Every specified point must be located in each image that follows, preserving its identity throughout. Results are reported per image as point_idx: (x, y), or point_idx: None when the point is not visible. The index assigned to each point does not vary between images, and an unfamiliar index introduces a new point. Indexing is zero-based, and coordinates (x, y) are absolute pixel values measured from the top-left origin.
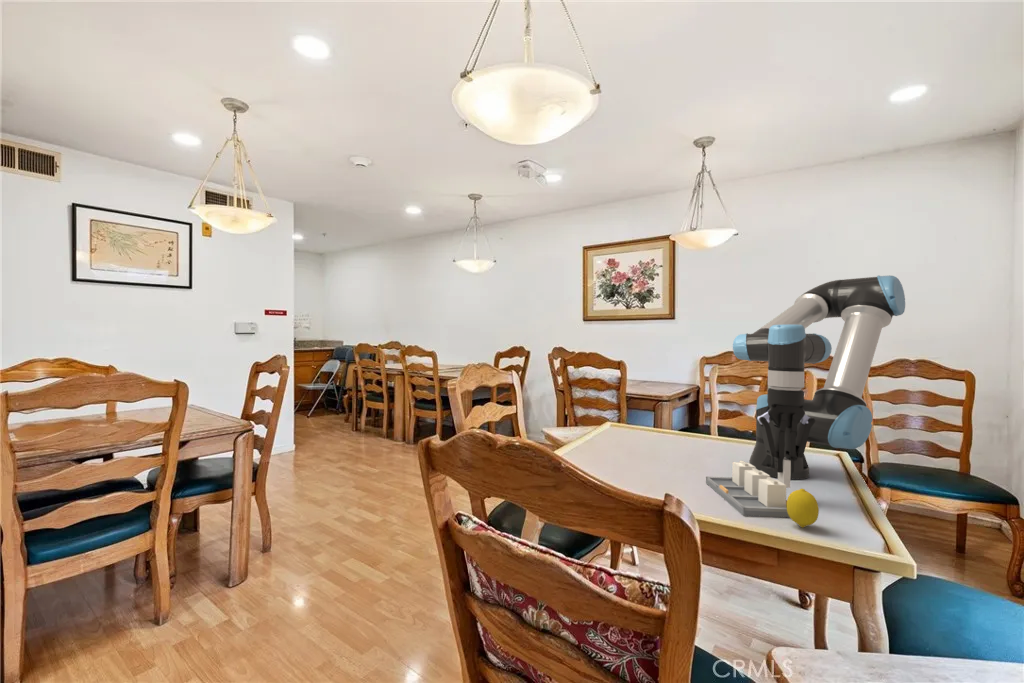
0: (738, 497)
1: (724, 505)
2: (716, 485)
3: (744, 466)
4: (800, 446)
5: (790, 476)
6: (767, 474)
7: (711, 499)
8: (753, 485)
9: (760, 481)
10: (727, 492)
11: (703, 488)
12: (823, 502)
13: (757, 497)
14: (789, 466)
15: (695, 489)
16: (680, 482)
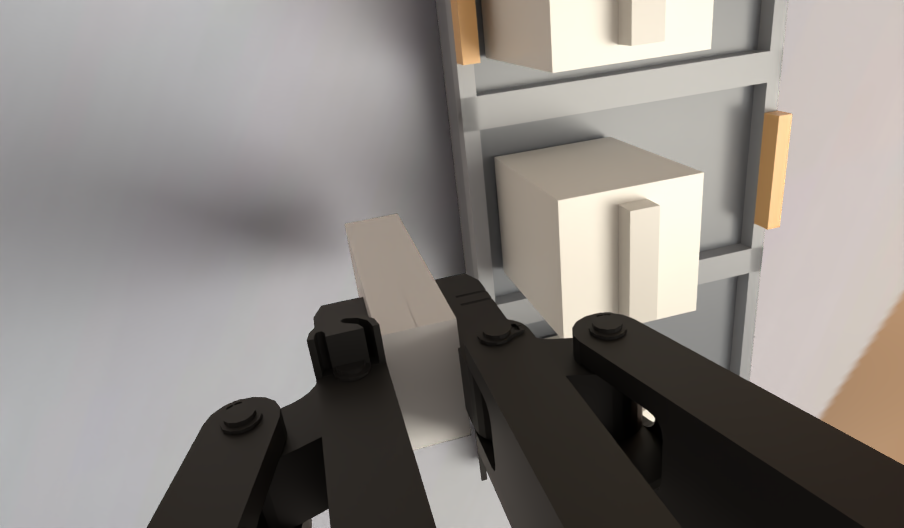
0: (725, 57)
1: (787, 10)
2: (759, 267)
3: (648, 415)
4: (238, 515)
5: (355, 258)
6: (564, 230)
7: (811, 109)
8: (641, 155)
9: (705, 8)
10: (773, 113)
11: (769, 300)
12: (74, 263)
13: (606, 77)
14: (381, 298)
15: (819, 267)
16: (842, 361)
